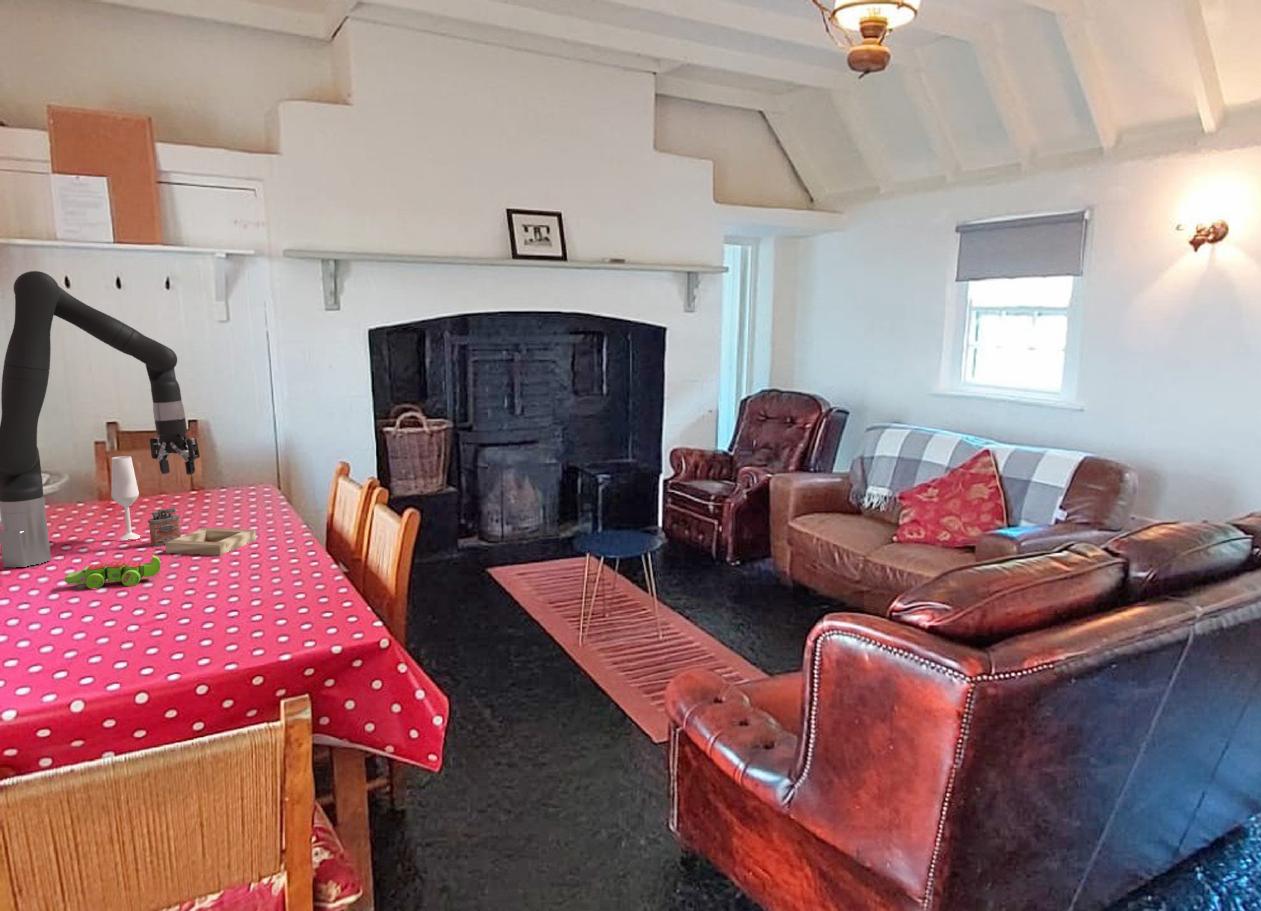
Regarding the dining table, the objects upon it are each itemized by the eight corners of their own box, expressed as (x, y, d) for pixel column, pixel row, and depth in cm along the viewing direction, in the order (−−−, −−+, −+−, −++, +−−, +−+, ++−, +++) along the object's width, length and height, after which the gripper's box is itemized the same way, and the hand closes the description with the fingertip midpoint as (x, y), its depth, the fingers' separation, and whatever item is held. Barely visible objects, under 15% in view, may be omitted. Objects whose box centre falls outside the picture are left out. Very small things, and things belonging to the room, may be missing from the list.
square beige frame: (220, 555, 212) (219, 544, 212) (166, 553, 214) (165, 542, 214) (256, 540, 228) (255, 529, 228) (205, 537, 230) (204, 528, 230)
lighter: (153, 547, 220) (150, 512, 218) (148, 545, 222) (145, 511, 220) (184, 541, 226) (180, 507, 225) (178, 539, 228) (175, 505, 227)
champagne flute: (121, 543, 224) (112, 460, 221) (112, 539, 228) (103, 457, 225) (147, 538, 230) (139, 457, 226) (137, 534, 234) (129, 454, 230)
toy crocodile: (62, 592, 183) (59, 567, 182) (72, 584, 189) (69, 559, 188) (158, 584, 189) (156, 560, 188) (165, 576, 195) (163, 552, 194)
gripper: (137, 419, 220) (146, 476, 223) (180, 419, 216) (188, 477, 219) (159, 415, 227) (168, 470, 230) (201, 415, 223) (209, 471, 226)
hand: (178, 473), depth 225 cm, fingers open, 8 cm apart
